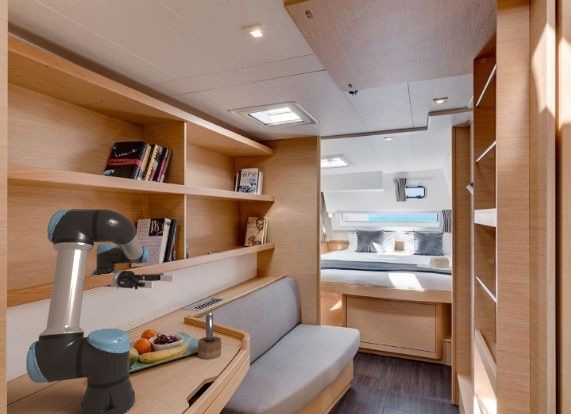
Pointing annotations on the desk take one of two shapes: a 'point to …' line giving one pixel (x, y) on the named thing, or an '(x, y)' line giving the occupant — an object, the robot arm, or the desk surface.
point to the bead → (209, 348)
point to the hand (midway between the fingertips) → (163, 281)
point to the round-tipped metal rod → (209, 327)
